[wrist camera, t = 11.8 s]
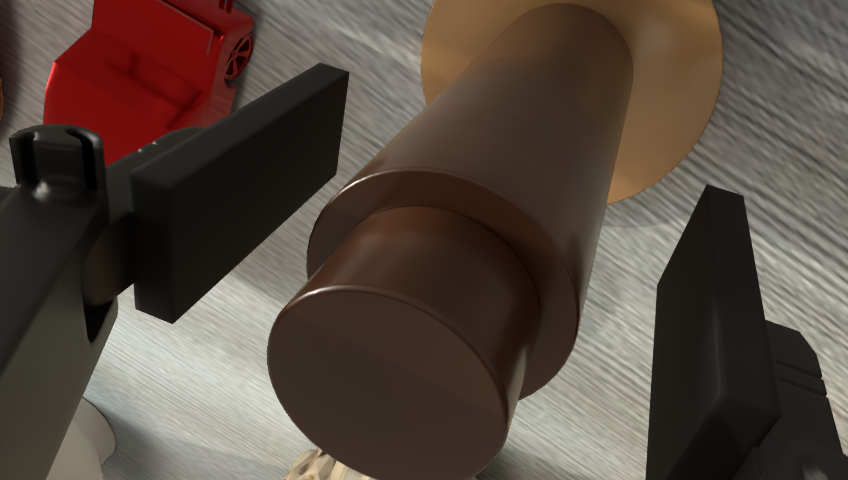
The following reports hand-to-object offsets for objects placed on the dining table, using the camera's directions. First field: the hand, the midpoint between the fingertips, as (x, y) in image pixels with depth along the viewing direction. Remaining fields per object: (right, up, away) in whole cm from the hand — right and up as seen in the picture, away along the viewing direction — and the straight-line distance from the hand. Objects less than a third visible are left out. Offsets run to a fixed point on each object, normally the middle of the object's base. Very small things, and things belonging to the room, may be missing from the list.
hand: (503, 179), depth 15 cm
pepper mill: (+3, +4, +7) cm, 9 cm away
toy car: (-13, +4, +14) cm, 19 cm away
